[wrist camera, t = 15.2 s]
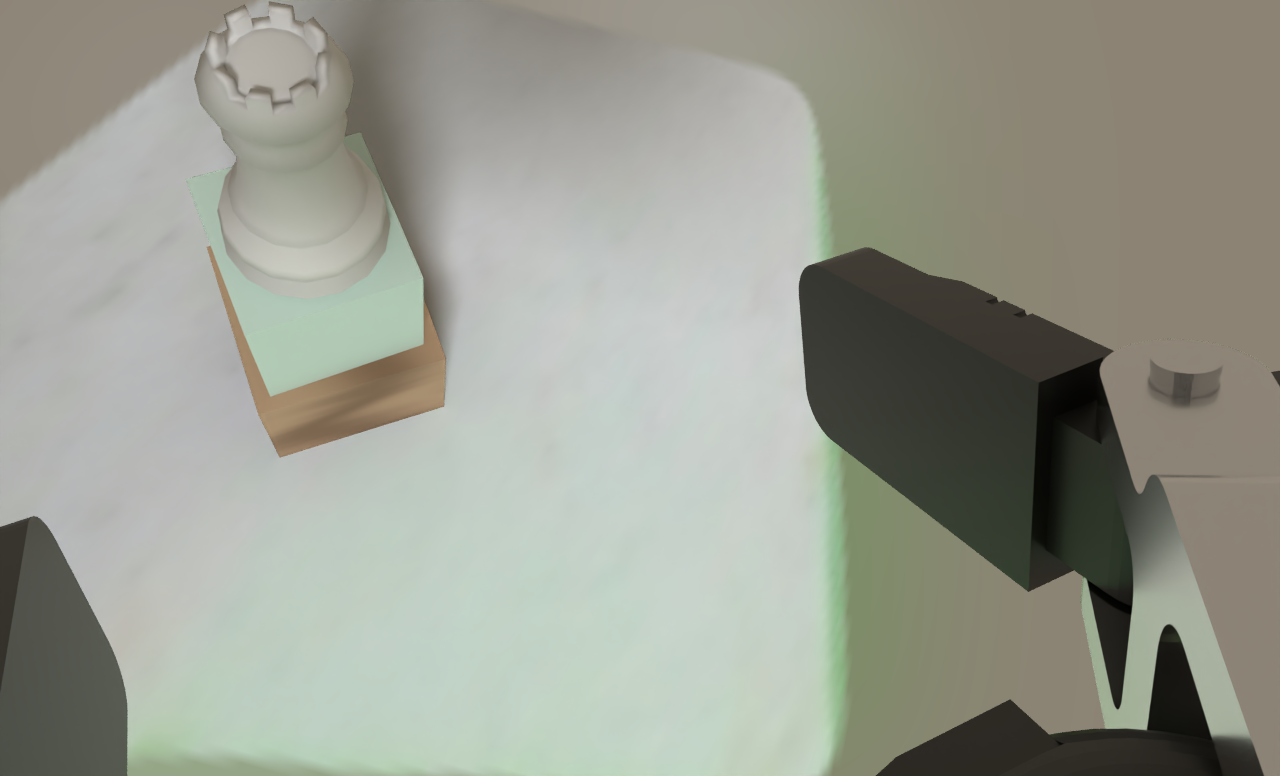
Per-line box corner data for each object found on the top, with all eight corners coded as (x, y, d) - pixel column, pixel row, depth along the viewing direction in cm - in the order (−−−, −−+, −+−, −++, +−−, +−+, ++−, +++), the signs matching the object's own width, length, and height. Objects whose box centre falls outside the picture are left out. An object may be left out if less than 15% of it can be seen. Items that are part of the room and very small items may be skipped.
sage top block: (270, 396, 32) (244, 335, 28) (218, 260, 33) (185, 179, 29) (423, 344, 34) (423, 277, 29) (369, 215, 35) (360, 131, 30)
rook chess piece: (262, 142, 29) (208, -65, 22) (413, 194, 30) (410, 7, 22) (196, 275, 28) (113, 99, 20) (357, 328, 28) (334, 174, 21)
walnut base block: (280, 458, 36) (258, 414, 32) (233, 309, 38) (206, 247, 33) (443, 407, 38) (445, 358, 34) (393, 266, 40) (388, 201, 35)
